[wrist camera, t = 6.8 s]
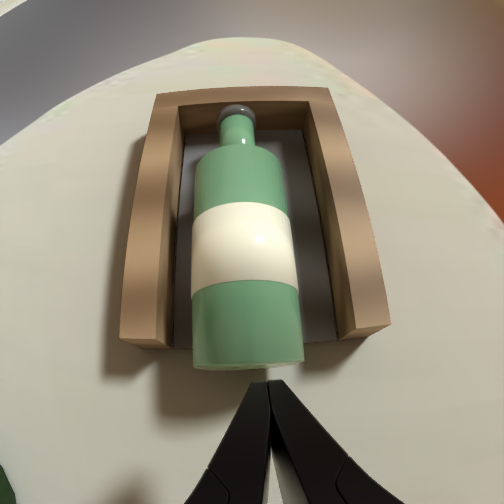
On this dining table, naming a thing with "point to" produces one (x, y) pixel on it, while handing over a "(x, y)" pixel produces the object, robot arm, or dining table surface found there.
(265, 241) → the bottle
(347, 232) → the cradle
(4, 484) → the bottle
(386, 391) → the dining table surface
